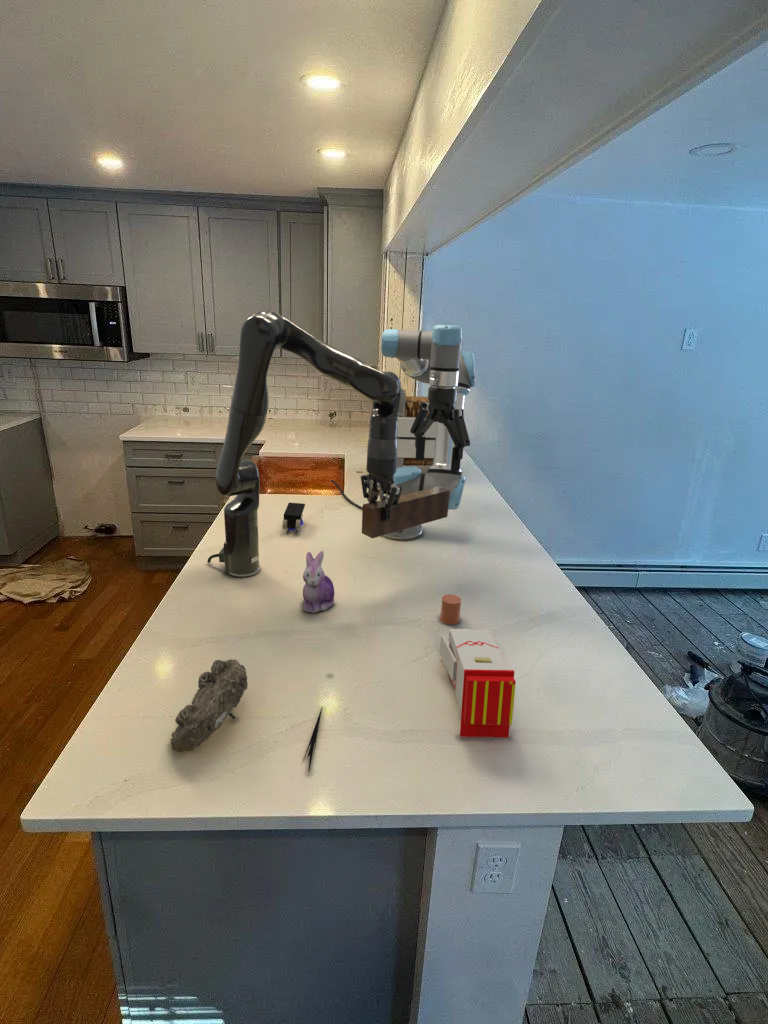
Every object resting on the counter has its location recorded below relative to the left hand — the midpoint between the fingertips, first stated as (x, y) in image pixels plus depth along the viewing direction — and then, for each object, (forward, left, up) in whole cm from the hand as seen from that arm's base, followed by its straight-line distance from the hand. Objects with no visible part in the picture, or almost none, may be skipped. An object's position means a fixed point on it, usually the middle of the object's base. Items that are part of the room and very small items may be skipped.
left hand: (379, 518), depth 147 cm
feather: (-9, -49, -23) cm, 55 cm away
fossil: (-29, -50, -23) cm, 62 cm away
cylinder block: (+20, -10, -23) cm, 32 cm away
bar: (+7, +7, -4) cm, 11 cm away
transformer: (+16, +127, -23) cm, 131 cm away
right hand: (+15, +13, +11) cm, 23 cm away
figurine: (-15, -6, -23) cm, 28 cm away
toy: (+22, -39, -23) cm, 50 cm away
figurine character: (-31, +48, -23) cm, 61 cm away
